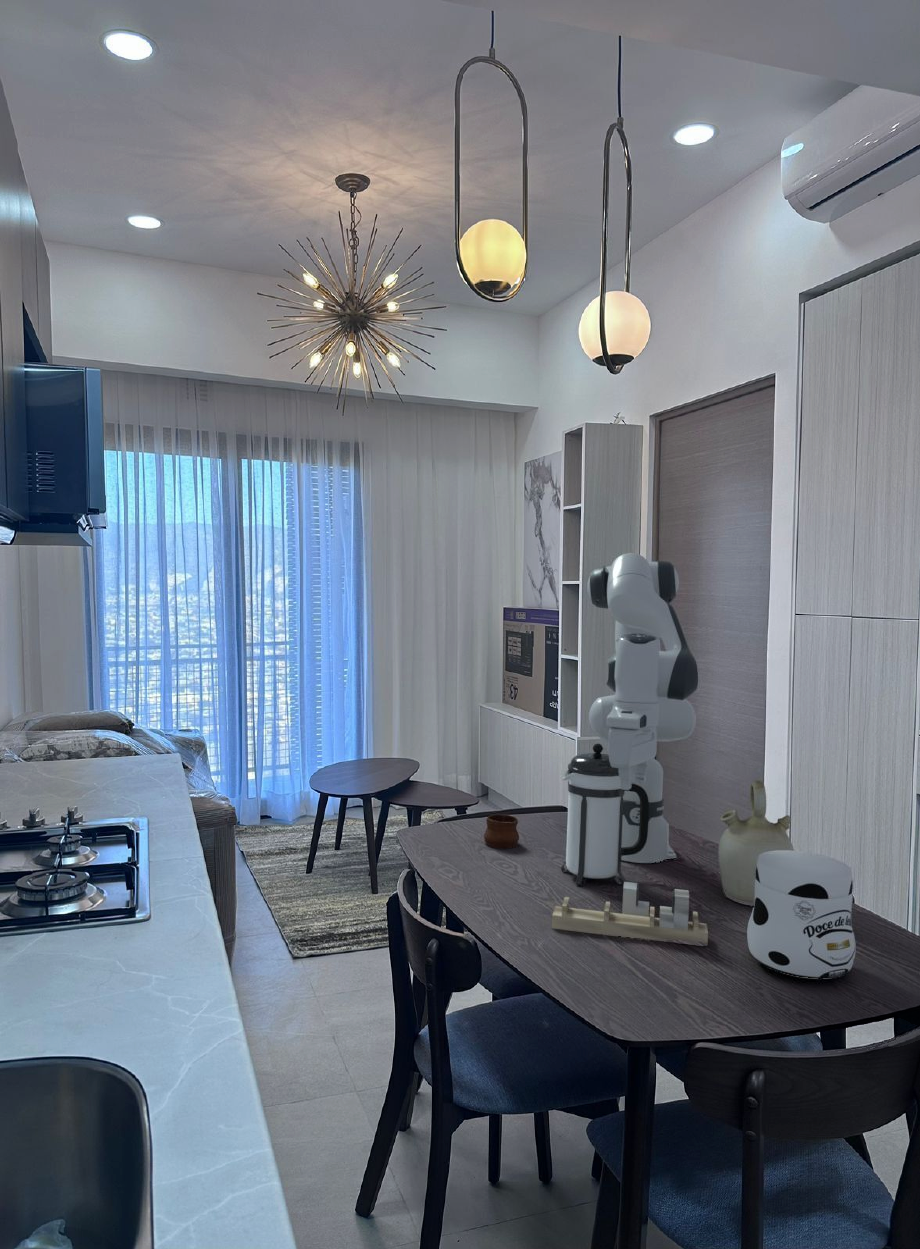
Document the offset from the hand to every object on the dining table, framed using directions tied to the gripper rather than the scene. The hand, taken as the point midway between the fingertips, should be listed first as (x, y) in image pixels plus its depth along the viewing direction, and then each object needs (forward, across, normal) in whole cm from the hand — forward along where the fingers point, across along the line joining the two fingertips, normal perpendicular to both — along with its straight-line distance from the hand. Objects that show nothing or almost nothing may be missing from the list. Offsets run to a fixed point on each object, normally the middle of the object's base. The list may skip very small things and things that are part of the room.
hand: (633, 785), depth 171 cm
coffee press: (+25, -18, -13) cm, 33 cm away
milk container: (+26, +8, +33) cm, 43 cm away
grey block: (+25, +1, +2) cm, 25 cm away
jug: (+25, -24, +20) cm, 40 cm away
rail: (+26, +10, +3) cm, 28 cm away
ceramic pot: (+24, -29, -42) cm, 56 cm away
